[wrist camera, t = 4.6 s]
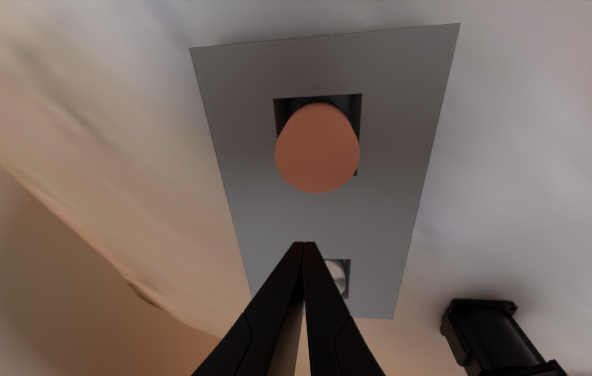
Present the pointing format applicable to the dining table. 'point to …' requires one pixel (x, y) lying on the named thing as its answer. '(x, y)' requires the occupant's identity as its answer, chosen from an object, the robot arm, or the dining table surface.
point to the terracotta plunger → (317, 148)
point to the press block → (370, 134)
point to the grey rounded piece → (337, 272)
